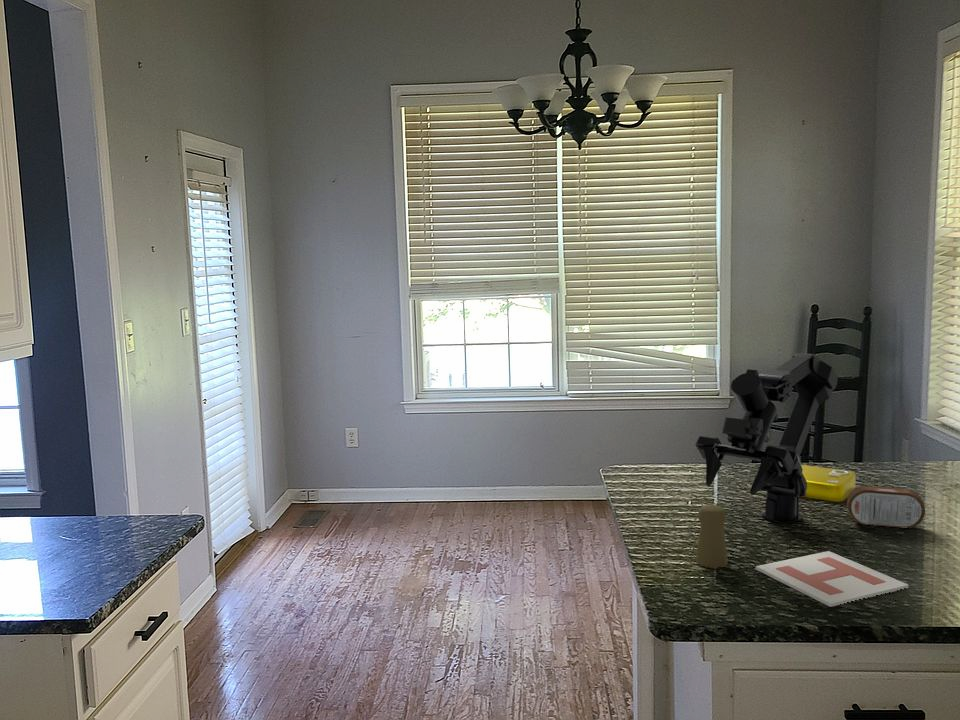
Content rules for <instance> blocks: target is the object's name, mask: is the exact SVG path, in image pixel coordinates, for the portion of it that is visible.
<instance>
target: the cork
mask: <svg viewBox="0 0 960 720" xmlns="http://www.w3.org/2000/svg"><path fill="white" fill-rule="evenodd" d="M727 516H728V515H727V511H726V510H725V508H724V507H722V506H720V505H716V504H715V505H714V504H705V505H703V506H701V507H700V508H699V510H698V514H697V517H698V520H699V522H700V529H699V534H698V541H697V547H696V553H695V554H696V555H695V561H696V562H695V561H694V562H695V563H696V564H697V563H698V564H699V565H698V564H697V565H698V566H701V567H703V566H705V568H708V567H709V569H719V568H718V567H722V568H725V567H727V566H728V564H729V563H728V560H729V559H728V553H727V545H726V537H725V536H726V535H725V528H724V524H726V521H727ZM724 566H725V567H724Z"/></svg>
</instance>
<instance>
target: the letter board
mask: <svg viewBox="0 0 960 720" xmlns="http://www.w3.org/2000/svg"><path fill="white" fill-rule="evenodd" d="M755 570H756V571H758V572H760V573H763V574H764V575H766V576H768V577H770V578H772V579H774V580H776V581H778V582H780V583H782V584H783V585H785V586H788V587H790V588H791V589H794V590H796V591H798V592H800V593H802V594H804V595H806V596H807V597H810V598H811V599H814V600H816V601H817V602H820V603H821V604H824V605H825V606H828V607H830V608H831V607H836V606H840V604H841V605H845V604H848V603H847V602H849V603H852V602H851V601H853V602H856V601H855V600H857V601H860V600H859V599H861V600H864V599H863V598H865V599H869V598H872V597H877V596H876V595H878V596H881V594H882V595H885V593H886V594H888V593H889V592H890V593H893V592H897V590H898V591H901V590H900V589H902V590H905V589H904V588H906V589H909V584H908V583H905V582H903V581H900V580H898V579H896V578H893V577H891V576H889V575H886V574H884V573H882V572H879V571H877V570H874V569H872V568H870V567H868V566H865V565H862V564H860V563H858V562H856V561H853V560H851V559H848V558H846V557H844V556H841V555H839V554H837V553H835V552H832V551H829V550H827V551H822V552H816V553H813V554H808V555H804V556H803V555H802V556H799V557H793V558H789V559H785V560H784V559H783V560H779V561H775V562H770V563H766V564H760V565H755ZM868 597H869V598H868ZM844 603H845V604H844Z"/></svg>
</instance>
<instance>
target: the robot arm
mask: <svg viewBox="0 0 960 720" xmlns="http://www.w3.org/2000/svg"><path fill="white" fill-rule="evenodd" d="M837 385H838V375H837V374H836V372H835V370H834V368H833V366H831V365H829V364H827V363H826V362H824V361H823V360H821V359H820V356H818V355H817V354H814V353H802V352H797V353H795V354H793V355H792V357H791V358H790V359H789V360H788V361H786V362H784V363H782V364H781V365H780V366H778V367H777V368H775V369H773V370H763V371H760V372H759V371H758V369H751V368H750V369H749V368H747V369H746V371H745V373H742V374H739V375H737V377H736V378H734V379H733V380H732V381H731V385H730V388H731V391H732V393H733V395H734V396H735V399H736V401H737V403H738V404H739V406H740V408H741V409H742V410H744V414H743V416H742V418H735V417H729V416H727V417H725V418H724V421H723V422H724V423H723V426H722V432H721V433H722V434H723V435H724V434H725V435H727V438H726V439H727V441H728V443H731V444H730V445H727V444H722V442H721V441H720V438H719V437H717V436H710V435H704V434H702V435H699V436H698V437H697V439H696V441H695V444H694V445H695V447H696V449H697V451H698V452H699V453H700V455H701V457H702V458H703V459H704V460H705V463H706V464H705V465H706V467H705V471H706V472H705V473H706V474H705V485H706V487H711V485H712V484H713V482H714V480H715V479H716V476H717V475H718V472H719V470H720V468H721V467H722V465H723V464H722V460H724V458H725V456H730V457H736V458H740V459H741V458H742V459H747V460H753V461H757V462H760V463H759V464H760V465H759V467H758V469H757V474H756V475H755V478H754V481H752V483H751V484H752V485H751V487H750V491H749V493H750V495H751V496H754V495H756V494H757V493H758V492H759V491H764V492H766V498H765V509H764V510H765V512H764V513H761V517H762V518H765V519H767V520H769V521H772V522H774V523H777V524H780V525H786V524H791V523H796V522H802V521H804V519H805V518H804V517H802V516H800V515H799V509H800V507H799V506H800V505H799V503H800V497H802V496H805V495H806V490H807V481H806V479H805V477H804V475H803V473H802V471H803V469H802V466H801V465H802V462H801V460H800V456H801V454H802V451H803V448H804V446H805V442H806V440H807V437H808V434H809V432H810V429H811V427H812V424H813V422H814V419H815V416H816V414H817V412H818V408H819V406H820V405H822V404H823V403H825V402H826V401H829V399H830V398H831V396H832V394H833V392H834V390H835V389H836V388H837ZM793 386H795V388H796V392H797V394H798V395H797V397H796V400H795V403H794V405H793V407H792V410H791V413H790V416H789V418H788V420H787V424H786V425H785V429H784V431H783V433H782V435H781V438H780V441H779V444H778V445H771V444H770V445H767V446H766V447H765V450H763V448H764V444H765V443H769V440H770V438H769V432H770V429H771V428H772V424H773V423H774V421H778V418H779V416H778V413H777V412H778V410H777V408H776V405H775V404H774V403H775V402H776V403H782V404H783V403H785V402H786V401H787V400H788V399H789V398H790V397H791V396H792V394H793V393H792V392H793Z"/></svg>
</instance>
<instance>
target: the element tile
mask: <svg viewBox="0 0 960 720" xmlns="http://www.w3.org/2000/svg"><path fill="white" fill-rule="evenodd" d="M801 466H802V469H803V471H802V473H803V475H804V477H805V479H806V481H807V490H806V495H805V496H801V497H802V498H810V499H815V500H823V501H827V502H828V501H829V502H840V501H841V502H844V501H846V500H847V498H848V496H849V494H850V493H851V492H852V491H853V490H854V489H856V475H857V474H856V473H855V472H854V471H850V470H843V469H836V468H835V469H834V468H828V467H827V468H826V467H821V466H814V465H813V466H812V465H806V464H805V465H804V464H801Z"/></svg>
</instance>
